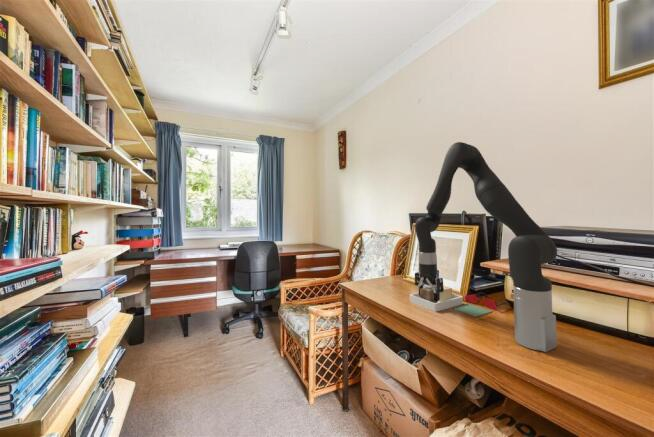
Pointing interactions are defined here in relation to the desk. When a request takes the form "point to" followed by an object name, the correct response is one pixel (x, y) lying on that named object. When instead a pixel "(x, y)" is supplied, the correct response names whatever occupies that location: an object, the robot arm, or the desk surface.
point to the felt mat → (472, 310)
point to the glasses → (487, 302)
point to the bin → (438, 306)
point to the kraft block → (445, 294)
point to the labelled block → (427, 294)
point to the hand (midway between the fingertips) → (428, 298)
